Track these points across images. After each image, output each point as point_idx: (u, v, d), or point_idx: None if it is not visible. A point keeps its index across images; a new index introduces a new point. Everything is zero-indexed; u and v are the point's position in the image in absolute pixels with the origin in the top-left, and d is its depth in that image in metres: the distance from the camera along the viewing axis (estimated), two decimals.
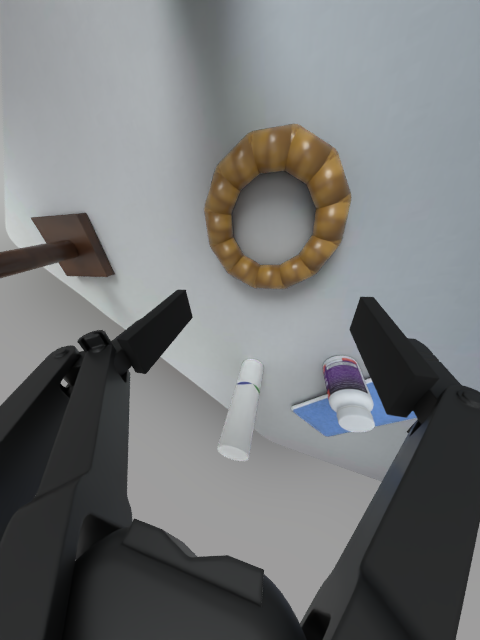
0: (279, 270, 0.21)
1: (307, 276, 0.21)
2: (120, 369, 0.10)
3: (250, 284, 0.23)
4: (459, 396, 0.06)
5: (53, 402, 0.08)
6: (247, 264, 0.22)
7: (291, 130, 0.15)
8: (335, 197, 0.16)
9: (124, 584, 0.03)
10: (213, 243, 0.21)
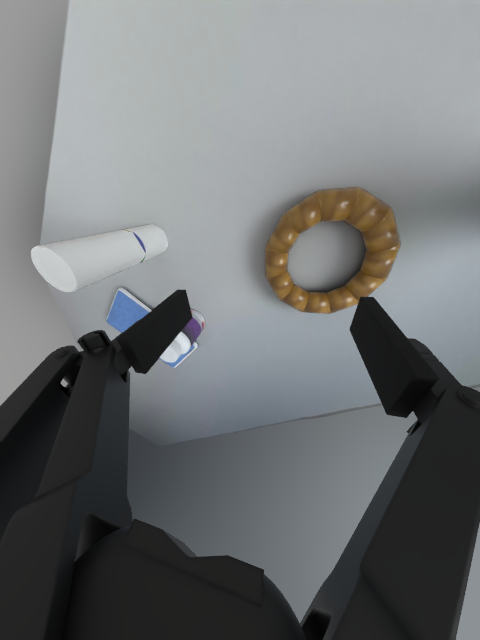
0: (284, 272, 0.24)
1: (278, 295, 0.26)
2: (120, 369, 0.10)
3: (271, 245, 0.22)
4: (459, 396, 0.06)
5: (53, 402, 0.08)
6: (292, 241, 0.22)
7: (385, 277, 0.21)
8: (333, 307, 0.24)
9: (124, 584, 0.03)
10: (321, 201, 0.19)
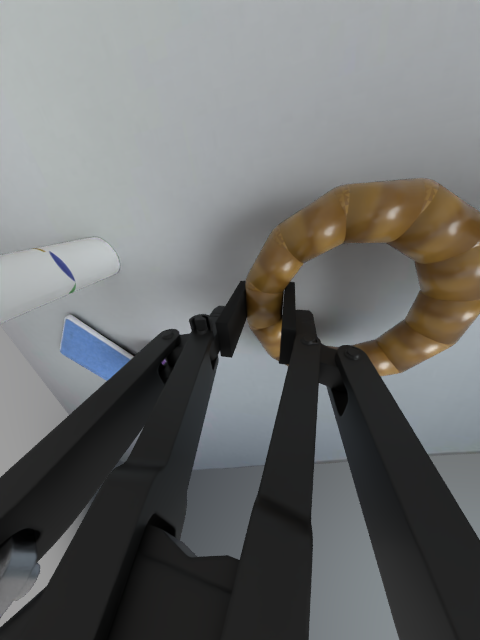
0: (277, 321, 0.15)
1: (268, 351, 0.16)
2: (215, 351, 0.11)
3: (254, 281, 0.13)
4: (301, 341, 0.09)
5: (149, 383, 0.08)
6: (290, 276, 0.12)
7: None
8: None
9: (124, 584, 0.03)
10: (347, 206, 0.09)
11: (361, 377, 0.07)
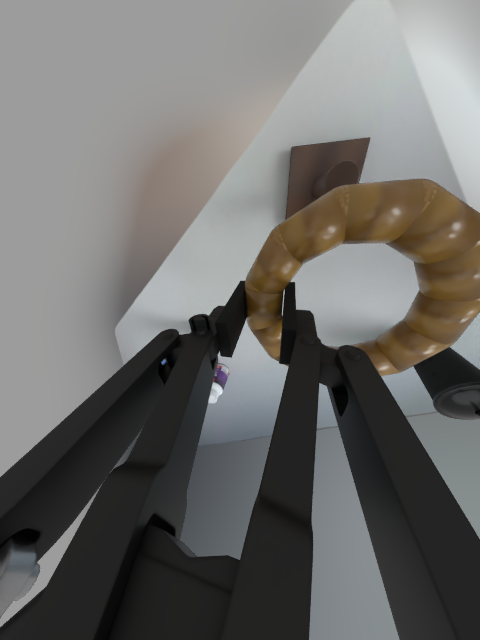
0: (276, 322, 0.15)
1: (268, 352, 0.16)
2: (215, 351, 0.11)
3: (253, 281, 0.13)
4: (301, 341, 0.09)
5: (149, 383, 0.08)
6: (290, 276, 0.12)
7: (455, 341, 0.12)
8: None
9: (124, 584, 0.03)
10: (347, 207, 0.09)
11: (362, 377, 0.07)
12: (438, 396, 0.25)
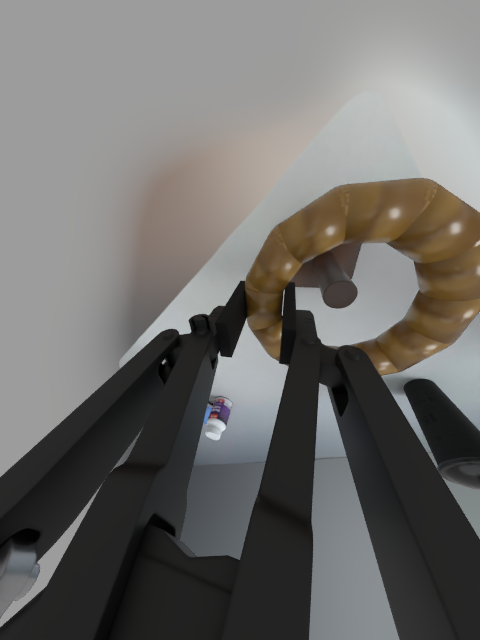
0: (276, 322, 0.15)
1: (268, 352, 0.16)
2: (215, 351, 0.11)
3: (253, 281, 0.13)
4: (301, 341, 0.09)
5: (149, 383, 0.08)
6: (290, 276, 0.12)
7: (454, 341, 0.12)
8: None
9: (124, 584, 0.03)
10: (347, 207, 0.09)
11: (362, 377, 0.07)
12: (442, 465, 0.24)
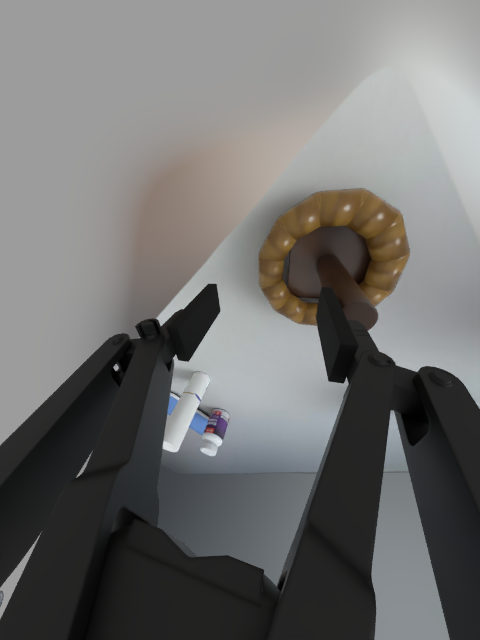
0: (279, 282, 0.22)
1: (273, 305, 0.23)
2: (168, 356, 0.11)
3: (265, 252, 0.20)
4: (369, 359, 0.07)
5: (103, 387, 0.08)
6: (288, 248, 0.19)
7: (392, 289, 0.19)
8: None
9: (124, 584, 0.03)
10: (320, 204, 0.16)
11: (453, 408, 0.06)
12: None
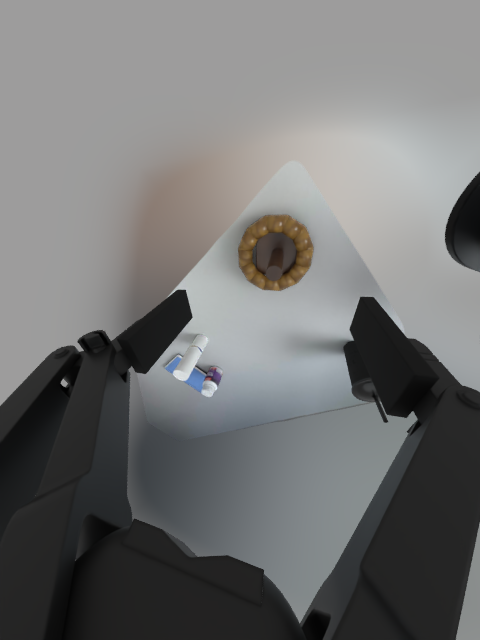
0: (250, 263, 0.38)
1: (247, 278, 0.40)
2: (120, 369, 0.10)
3: (241, 246, 0.36)
4: (459, 396, 0.06)
5: (53, 402, 0.08)
6: (253, 244, 0.36)
7: (307, 266, 0.36)
8: (281, 285, 0.39)
9: (124, 584, 0.03)
10: (266, 222, 0.33)
11: None
12: (352, 387, 0.39)
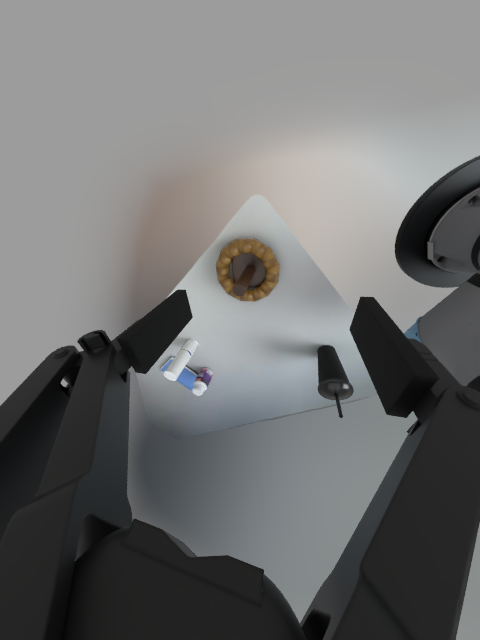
0: (226, 278, 0.44)
1: (225, 290, 0.46)
2: (120, 369, 0.10)
3: (217, 264, 0.42)
4: (459, 396, 0.06)
5: (53, 402, 0.08)
6: (228, 262, 0.41)
7: (275, 281, 0.41)
8: (254, 297, 0.44)
9: (124, 584, 0.03)
10: (236, 245, 0.39)
11: None
12: (318, 386, 0.44)
